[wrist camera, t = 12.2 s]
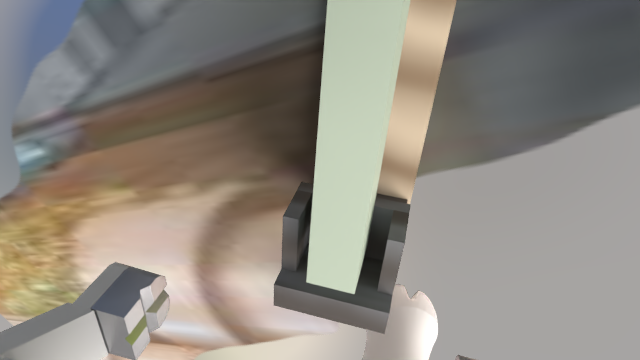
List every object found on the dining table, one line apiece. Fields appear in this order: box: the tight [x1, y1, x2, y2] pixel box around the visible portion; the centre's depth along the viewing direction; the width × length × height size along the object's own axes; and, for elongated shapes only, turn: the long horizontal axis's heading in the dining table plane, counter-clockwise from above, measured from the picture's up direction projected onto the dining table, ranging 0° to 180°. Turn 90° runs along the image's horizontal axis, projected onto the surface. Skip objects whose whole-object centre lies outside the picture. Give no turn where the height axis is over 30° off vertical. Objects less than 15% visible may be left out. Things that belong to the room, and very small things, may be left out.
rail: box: [306, 0, 410, 294], centre depth 23 cm, size 20×3×5 cm, turn 176°
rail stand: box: [274, 0, 456, 334], centre depth 27 cm, size 29×8×14 cm, turn 176°
